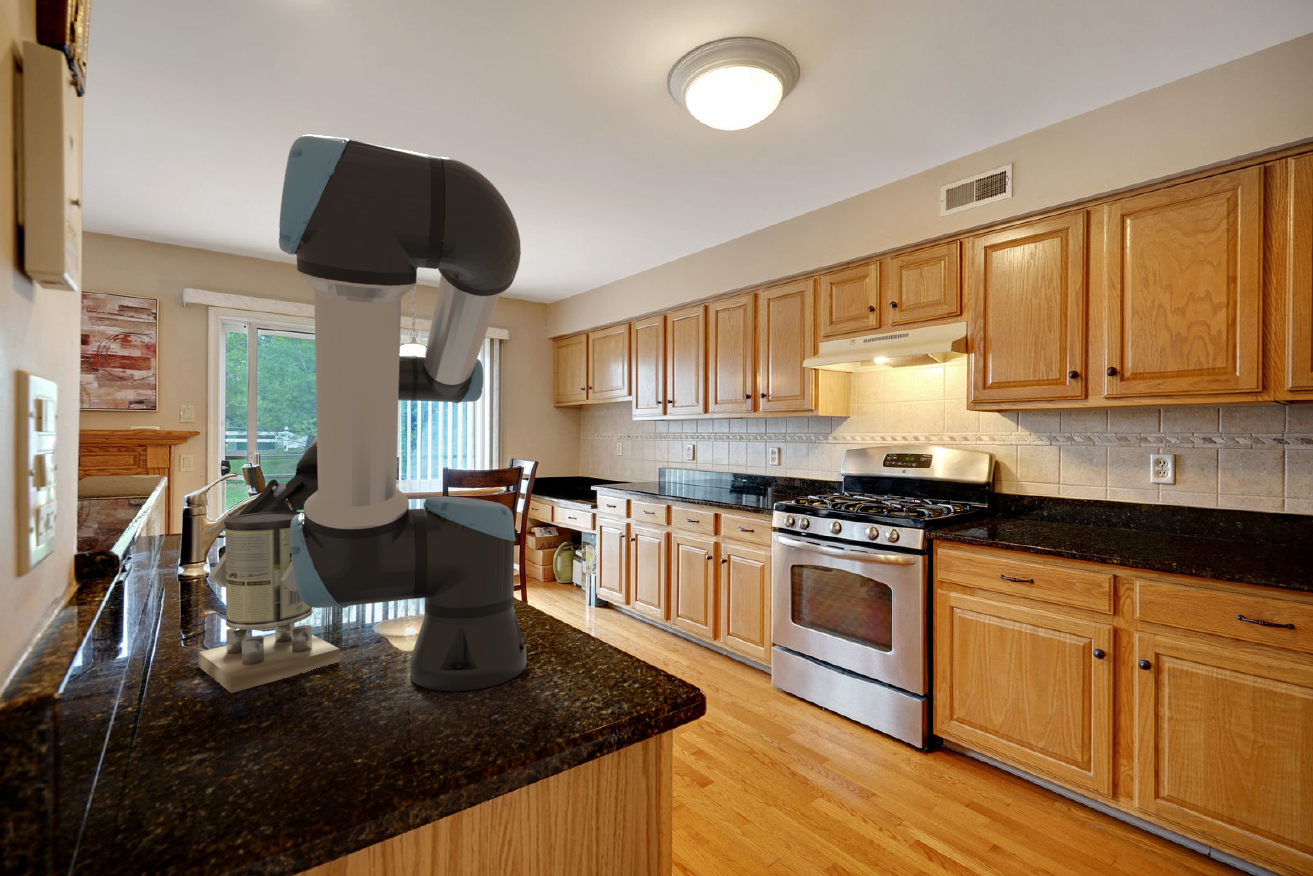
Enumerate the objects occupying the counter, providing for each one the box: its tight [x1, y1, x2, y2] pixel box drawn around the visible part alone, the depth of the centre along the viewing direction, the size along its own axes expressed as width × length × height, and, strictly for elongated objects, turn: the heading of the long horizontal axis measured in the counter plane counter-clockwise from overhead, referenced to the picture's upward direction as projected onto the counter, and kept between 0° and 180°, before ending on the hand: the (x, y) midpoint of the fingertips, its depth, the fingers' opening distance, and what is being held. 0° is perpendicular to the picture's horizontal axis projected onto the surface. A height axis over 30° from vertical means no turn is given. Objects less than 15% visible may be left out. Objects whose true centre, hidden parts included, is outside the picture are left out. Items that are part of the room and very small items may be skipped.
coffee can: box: [223, 510, 313, 631], centre depth 86 cm, size 10×10×14 cm
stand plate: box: [198, 634, 341, 694], centre depth 86 cm, size 13×13×2 cm
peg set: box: [225, 622, 313, 665], centre depth 86 cm, size 8×8×3 cm
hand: (252, 583), depth 83 cm, fingers closed on coffee can, 10 cm apart
